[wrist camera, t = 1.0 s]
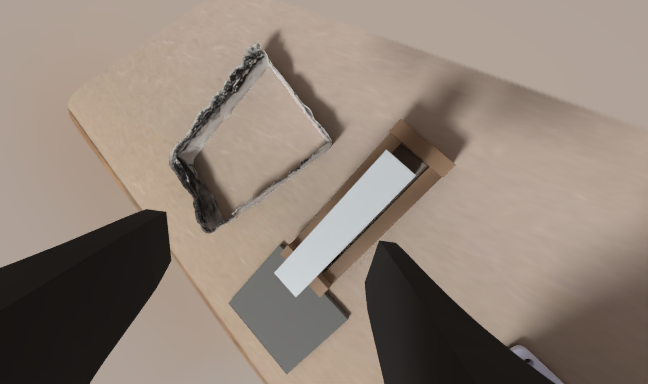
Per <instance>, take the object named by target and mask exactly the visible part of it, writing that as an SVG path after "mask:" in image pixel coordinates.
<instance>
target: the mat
mask: <svg viewBox="0 0 648 384" xmlns="http://www.w3.org/2000/svg"><path fill="white" fill-rule="evenodd" d="M284 249H285V247H284V246H283V245H282V244H281V245H279V246H278V247H277V248H276V250H275V251H274V252H273V253H272V254H271V255H270V256H269V257H268V259H267V260H266V261H265V262H264V263H263V264H262V265H261V267H260V268H259V269H258V270H257V271H256V272H255V273H254V275H253V276H252V277H251V278H250V279H249V280H248V281H247V282H246V284H245V285H244V286H243V287H242V288H241V289H240V290H239V292H238V293H237V294H236V295H235V296H234V297H233V298H232V300H231V301H230V302H229V305H230V306H231V307H232V308H233V309H234V311H235V312H236V313H237V314H238V316H239V317H240V318H241V319H242V320H243V322H244V323H245V324H246V325H247V327H248V328H249V329H250V330H251V331H252V333H253V334H254V335H255V336H256V337H257V339H258V340H259V341H260V342H261V344H262V345H263V346H264V347H265V348H266V350H267V351H268V352H269V353H270V355H271V356H272V357H273V358H274V359H275V361H276V362H277V363H278V364H279V366H280V367H281V368H282V369H283V370H284V372H285V373H286V374H288V373H289V372H290V371H291V370H292V369H293V368H294V367H295V366H297V365H298V364H299V363H300V362H301V361H302V360H303V359H304V358H305V357H307V356H308V355H309V354H310V353H311V352H312V351H313V350H314V349H315V348H317V347H318V346H319V345H320V344H321V343H322V342H323V341H324V340H326V339H327V338H328V337H329V336H330V335H331V334H332V333H333V332H334V331H336V330H337V329H338V328H339V327H340V326H341V325H342V324H343V323H344V322H346V321H347V320H348V318H349V316H348V315H347V314H346V313H345V312H344V311H343V310H342V309H341V308H340V307H339V306H338V305H337V303H336V302H335V301H334V300H333V299H332V298H331V297H330V296H329V295H328V294H327V293H326V292H325V293H324V294H323V295H322V296H321V297H319V296H318V295H317V294H316V293H315V292H314V291H313V290H312V288H311V287H310V286H309V285H308V286H307V287H306V288H305V289H304V290H303V291H302V292H301V293H300V294H299V295H298V296H297V297H295V296H294V295H293V294H292V293H291V292H290V290H289V289H288V288H287V287H286V286H285V285H284V284H283V283H282V281H281V280H280V279H279V278H278V277H277V276H276V275H275V274H274V272H275V271H276V270H277V269H278V268H279V267H280V266H281V265H282V264H283V263H284V261H285V259H284V258H283V257H282V256H281V255H280V253H281V252H282V251H283V250H284Z"/></svg>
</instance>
